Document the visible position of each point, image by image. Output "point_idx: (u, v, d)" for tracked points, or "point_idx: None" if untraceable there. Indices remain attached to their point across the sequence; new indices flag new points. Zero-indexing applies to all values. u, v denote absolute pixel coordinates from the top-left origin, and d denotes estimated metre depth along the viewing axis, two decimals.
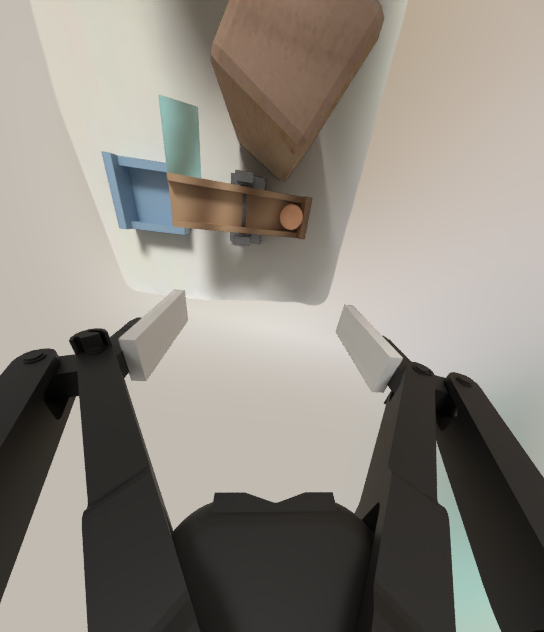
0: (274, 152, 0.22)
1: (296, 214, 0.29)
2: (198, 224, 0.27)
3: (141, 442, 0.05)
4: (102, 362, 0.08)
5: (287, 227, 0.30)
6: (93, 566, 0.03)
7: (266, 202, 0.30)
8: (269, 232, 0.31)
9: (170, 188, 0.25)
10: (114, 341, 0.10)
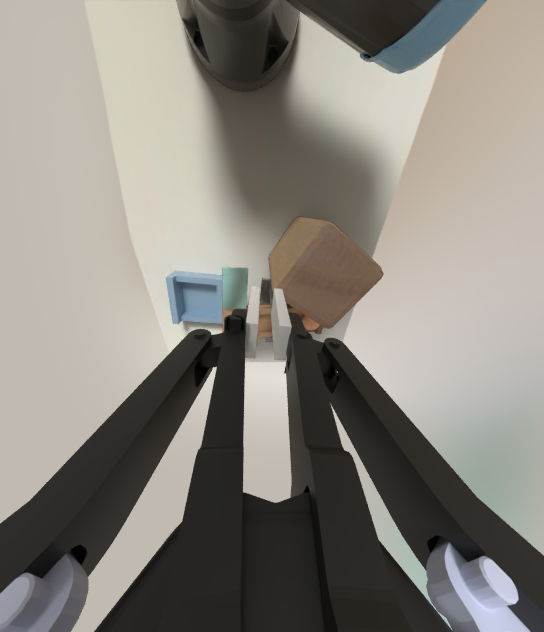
0: None
1: (316, 323, 0.37)
2: None
3: (242, 420, 0.06)
4: (236, 341, 0.10)
5: (308, 329, 0.39)
6: (192, 498, 0.04)
7: (292, 311, 0.38)
8: None
9: (224, 317, 0.33)
10: None
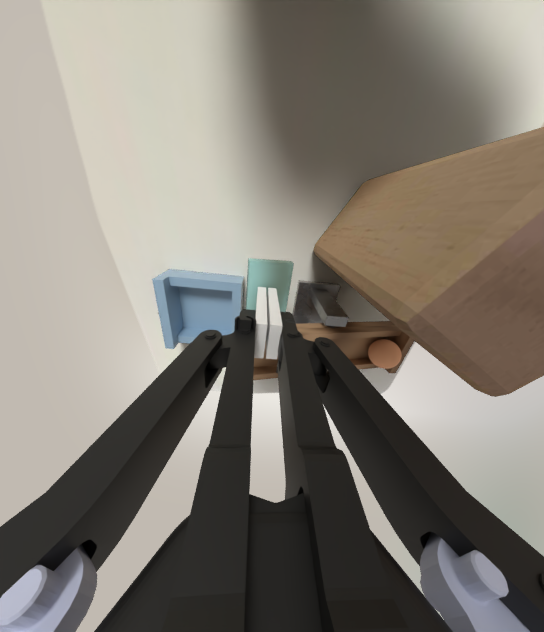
0: None
1: (396, 360, 0.22)
2: (273, 374, 0.22)
3: (250, 421, 0.06)
4: (246, 342, 0.10)
5: (378, 366, 0.24)
6: (199, 496, 0.04)
7: None
8: None
9: None
10: None
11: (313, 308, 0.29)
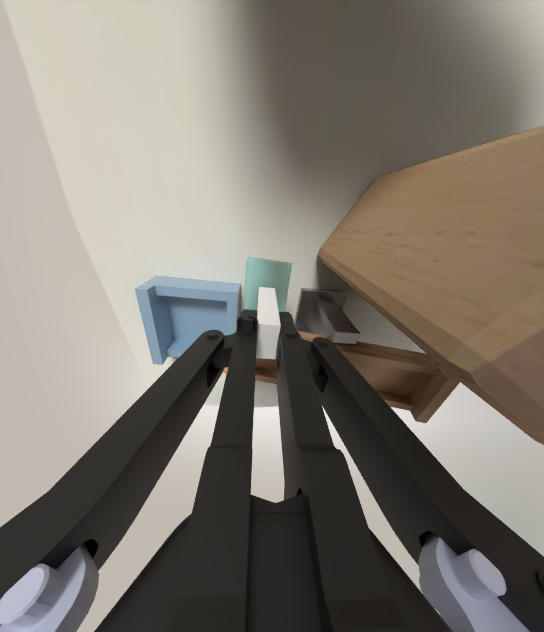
0: None
1: None
2: (266, 378, 0.21)
3: (252, 421, 0.06)
4: (248, 342, 0.10)
5: None
6: (201, 495, 0.04)
7: None
8: None
9: None
10: None
11: (317, 318, 0.27)
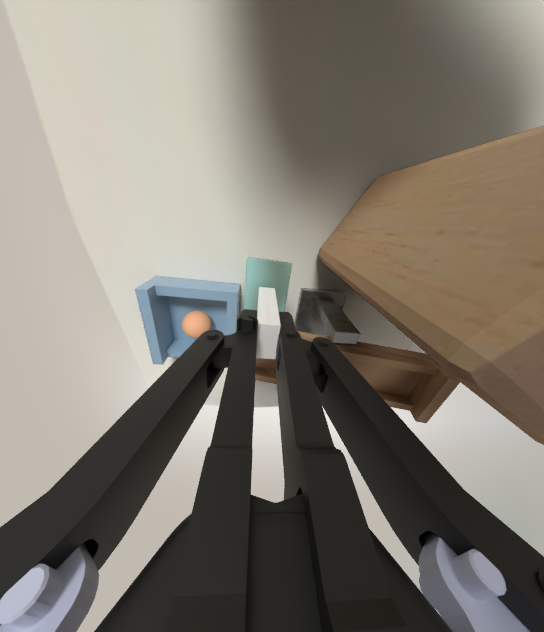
0: None
1: None
2: (266, 378, 0.21)
3: (252, 421, 0.06)
4: (248, 342, 0.10)
5: None
6: (201, 495, 0.04)
7: None
8: None
9: None
10: None
11: (317, 318, 0.27)
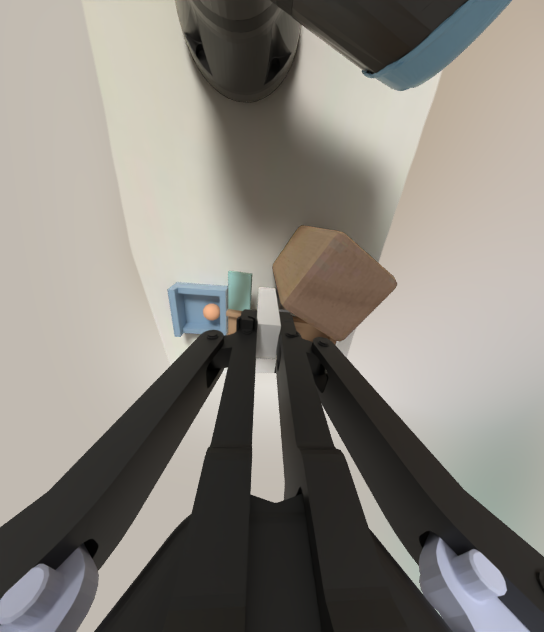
0: None
1: (206, 313, 0.39)
2: None
3: (252, 421, 0.06)
4: (247, 342, 0.10)
5: None
6: (201, 495, 0.04)
7: (299, 326, 0.35)
8: None
9: (229, 316, 0.36)
10: None
11: None
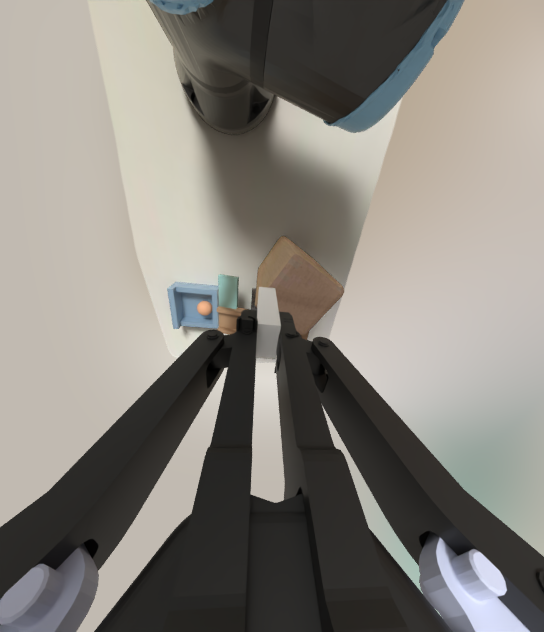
0: None
1: (199, 309, 0.45)
2: (231, 332, 0.43)
3: (252, 421, 0.06)
4: (247, 342, 0.10)
5: None
6: (201, 495, 0.04)
7: None
8: None
9: (219, 312, 0.43)
10: None
11: None
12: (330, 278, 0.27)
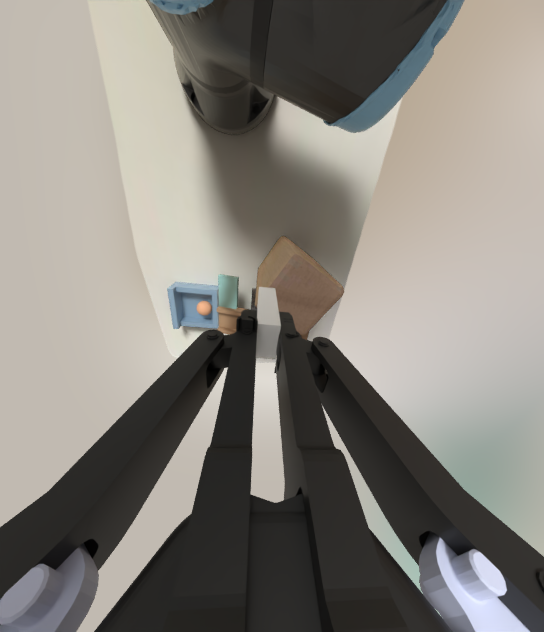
0: None
1: (198, 308, 0.45)
2: (231, 332, 0.43)
3: (252, 421, 0.06)
4: (248, 342, 0.10)
5: None
6: (201, 495, 0.04)
7: None
8: None
9: (219, 312, 0.43)
10: None
11: None
12: (330, 278, 0.27)
